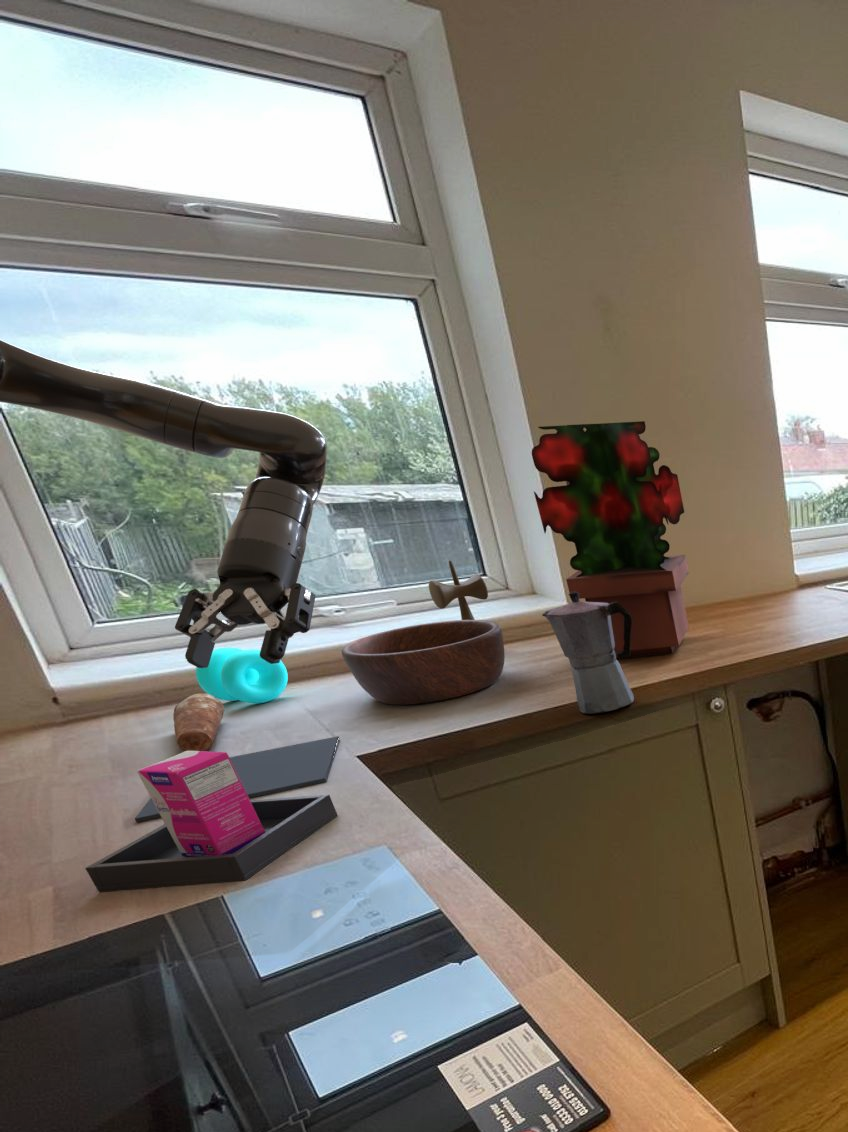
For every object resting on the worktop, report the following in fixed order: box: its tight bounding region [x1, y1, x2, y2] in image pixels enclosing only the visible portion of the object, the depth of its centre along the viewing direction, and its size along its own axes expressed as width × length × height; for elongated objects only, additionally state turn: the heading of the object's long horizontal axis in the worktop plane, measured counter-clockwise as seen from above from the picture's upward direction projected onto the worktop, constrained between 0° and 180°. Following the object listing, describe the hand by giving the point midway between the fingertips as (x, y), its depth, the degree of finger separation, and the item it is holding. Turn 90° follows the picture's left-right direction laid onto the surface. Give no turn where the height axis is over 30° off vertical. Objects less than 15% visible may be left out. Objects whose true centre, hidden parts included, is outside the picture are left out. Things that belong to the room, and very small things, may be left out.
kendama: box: [428, 560, 489, 620], centre depth 173 cm, size 6×10×20 cm, turn 142°
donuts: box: [195, 646, 289, 705], centre depth 150 cm, size 10×10×10 cm
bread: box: [172, 693, 225, 752], centre depth 133 cm, size 6×19×6 cm, turn 38°
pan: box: [84, 794, 339, 893], centre depth 97 cm, size 16×16×3 cm
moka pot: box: [541, 592, 635, 715], centre depth 137 cm, size 10×15×20 cm, turn 88°
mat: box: [134, 736, 340, 823], centre depth 118 cm, size 20×20×1 cm
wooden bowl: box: [341, 619, 506, 706], centre depth 152 cm, size 25×25×10 cm
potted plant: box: [531, 420, 690, 660], centre depth 165 cm, size 22×22×45 cm
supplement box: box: [136, 750, 266, 856], centre depth 95 cm, size 6×6×12 cm
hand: (233, 662), depth 100 cm, fingers open, 8 cm apart
